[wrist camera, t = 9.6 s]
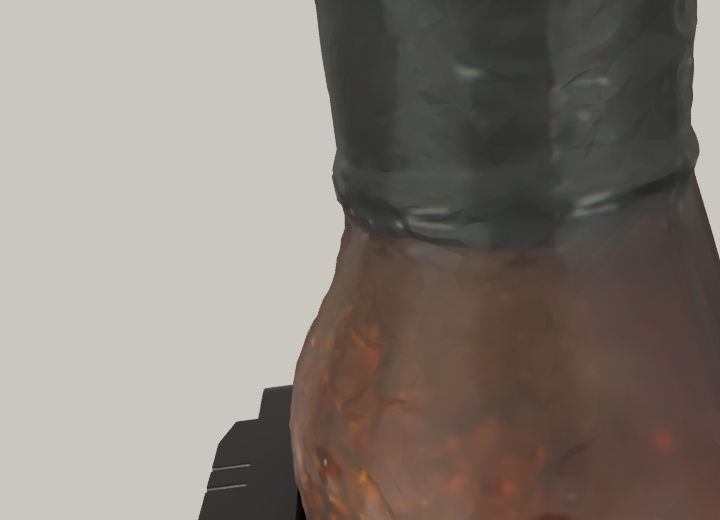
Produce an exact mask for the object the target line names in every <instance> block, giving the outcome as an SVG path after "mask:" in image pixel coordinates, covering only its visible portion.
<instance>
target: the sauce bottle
mask: <svg viewBox="0 0 720 520" xmlns="http://www.w3.org/2000/svg"><path fill="white" fill-rule="evenodd" d="M315 4H316V11H317V19H318V28H319V37H320V44H321V52H322V59H323V65H324V71H325V76H326V82H327V88H328V92H329V95H330V103H331V111H332V118H333V125H334V132H335V139H336V147H337V151H336V156H335V160H334V165H333V175H332V179H333V184H334V188H335V192H336V197H337V200H338V201H339V203H340V204H341V205H342V207H343V211H344V214H345V230H344V233H343V236H342V238H341V246H340V251H339V254H338V257H337V263H336V270H335V275H334V278H333V281H332V284H331V286H330V289H329V291H328V293H327V294H326V296H325V297H324V299H323V301H322V304H321V307H320V309H319V312H318V316H317V317H316V318H315V320H314V321H313V323H312V325H311V327H310V329H309V331H308V333H307V336H306V339H305V342H304V345H303V348H302V351H301V354H300V356H299V359H298V361H297V365H296V371H295V377H294V381H293V390H292V403H291V407H290V408H291V417H290V422H289V427H290V431H291V445H292V453H293V465H294V473H295V481H296V485H297V486H298V489H299V491H300V495H301V499H302V505H303V508H304V512H305V516H306V520H720V259H719V255H718V252H717V248H716V245H715V241H714V237H713V234H712V230H711V227H710V224H709V220H708V217H707V213H706V210H705V207H704V204H703V200H702V197H701V193H700V190H699V186H698V183H697V180H696V176H695V172H694V168H695V165H696V162H697V158H698V156H699V144H698V140H697V137H696V134H695V132H694V130H693V128H692V126H691V107H692V101H693V89H692V83H693V74H694V58H693V47H694V37H695V31H696V25H697V0H315Z"/></svg>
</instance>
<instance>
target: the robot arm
mask: <svg viewBox="0 0 720 520" xmlns="http://www.w3.org/2000/svg"><path fill="white" fill-rule="evenodd" d="M292 390H293V385H287V386H279V387H272V388H265V389H264V391H263V396H262V401H261V407H260V413H259V418H258V419H254V420H246V421H239V422H236V423H235V424H234V425H233V426H232V428H231V429H230V430H229V432H228V433H227V434H226V435H225V436H224V438H223V439H222V440H221V441H220V443H219V444H218V448H217V452H216V456H215V459H214V463H213V467H212V468H213V472H211V474H210V478H209V481H208V485H207V493H205V496H204V500H203V504H202V508H201V511H200V515H199V519H198V520H306V516H305V512H304V508H303V505H302V499H301V495H300V491H299V489H298V486H297V485H296V481H295V473H294V465H293V453H292V445H291V431H290V427H289V422H290V417H291V408H290V407H291V403H292Z"/></svg>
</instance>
